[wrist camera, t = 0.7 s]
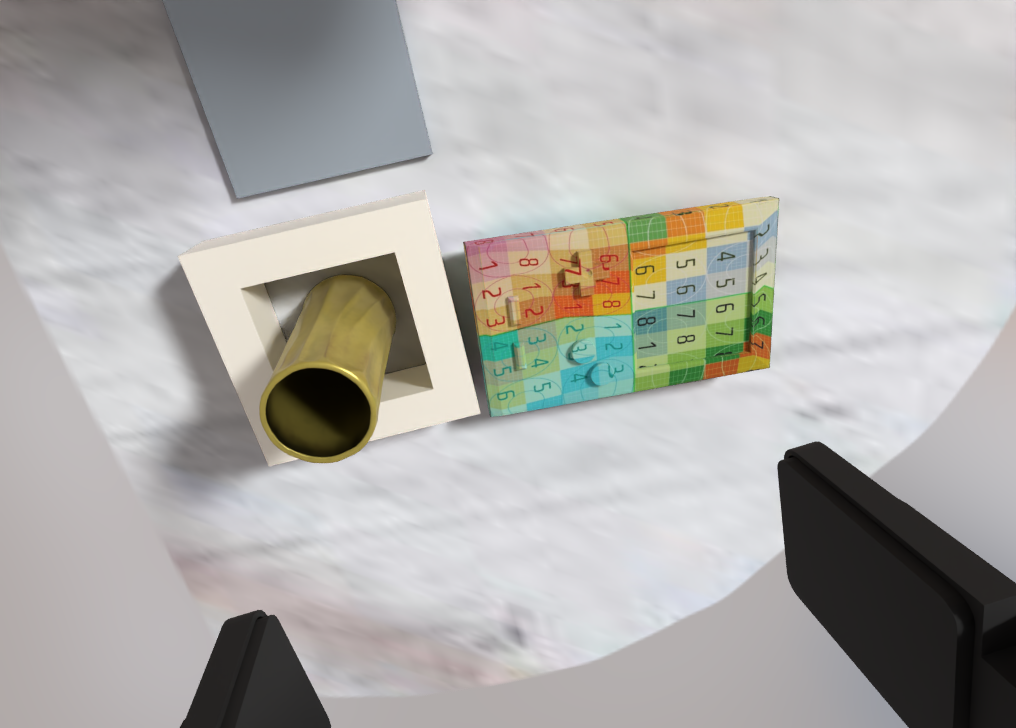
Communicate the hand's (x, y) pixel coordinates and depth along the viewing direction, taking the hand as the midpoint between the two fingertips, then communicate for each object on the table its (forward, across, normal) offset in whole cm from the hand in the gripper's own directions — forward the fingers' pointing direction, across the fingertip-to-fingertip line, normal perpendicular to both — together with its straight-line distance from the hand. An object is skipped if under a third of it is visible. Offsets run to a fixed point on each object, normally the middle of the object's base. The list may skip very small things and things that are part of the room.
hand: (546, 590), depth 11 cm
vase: (+32, +8, +2) cm, 33 cm away
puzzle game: (+32, -10, +5) cm, 34 cm away
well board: (+32, +8, +2) cm, 33 cm away
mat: (+31, +5, -13) cm, 34 cm away
